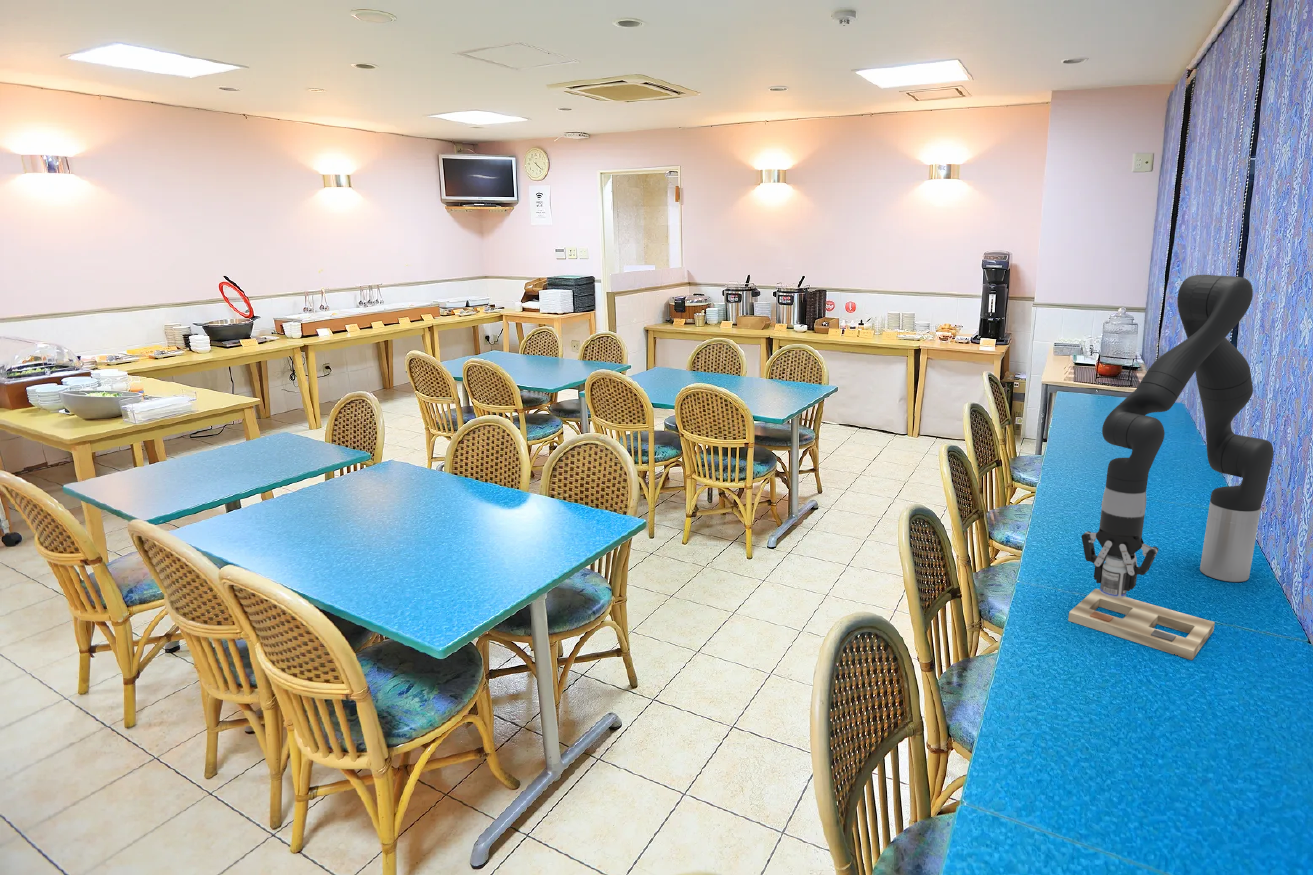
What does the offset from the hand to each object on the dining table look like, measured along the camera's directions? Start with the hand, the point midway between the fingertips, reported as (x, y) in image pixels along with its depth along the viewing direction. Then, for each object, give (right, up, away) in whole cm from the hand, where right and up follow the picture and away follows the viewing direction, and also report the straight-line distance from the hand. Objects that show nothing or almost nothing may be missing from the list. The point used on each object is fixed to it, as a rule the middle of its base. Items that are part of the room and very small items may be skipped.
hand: (1113, 585), depth 156 cm
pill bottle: (0, -2, +1) cm, 2 cm away
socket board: (+4, -8, -2) cm, 9 cm away
